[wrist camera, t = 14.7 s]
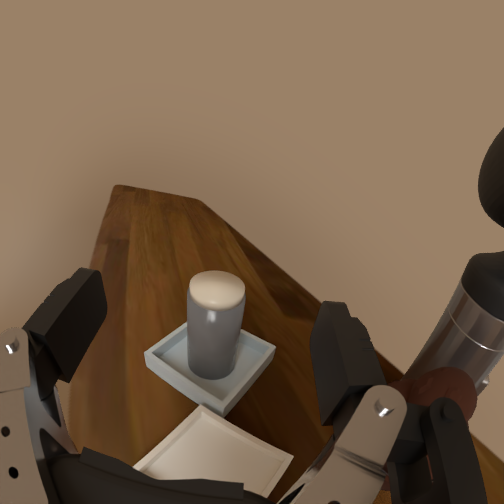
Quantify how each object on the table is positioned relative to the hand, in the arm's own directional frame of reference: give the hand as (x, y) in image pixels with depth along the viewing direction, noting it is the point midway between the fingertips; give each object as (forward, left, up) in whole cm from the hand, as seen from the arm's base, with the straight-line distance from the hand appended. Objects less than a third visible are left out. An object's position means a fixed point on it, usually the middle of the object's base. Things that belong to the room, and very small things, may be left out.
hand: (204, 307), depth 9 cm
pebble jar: (+8, -12, -20) cm, 24 cm away
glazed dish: (+8, -12, -20) cm, 25 cm away
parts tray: (-1, -1, -20) cm, 21 cm away
